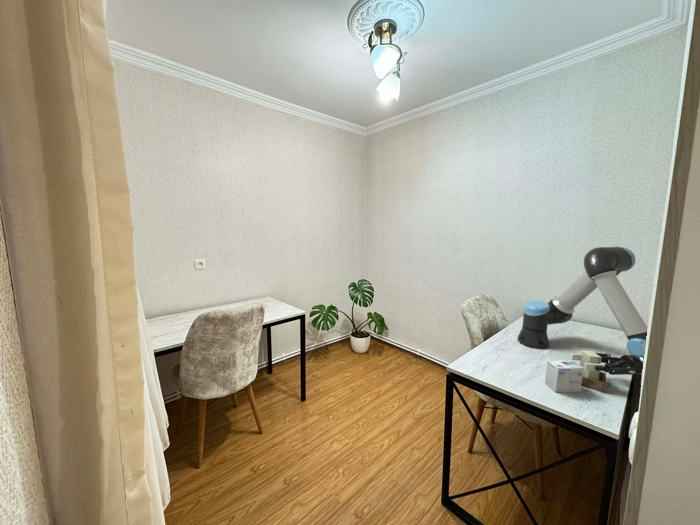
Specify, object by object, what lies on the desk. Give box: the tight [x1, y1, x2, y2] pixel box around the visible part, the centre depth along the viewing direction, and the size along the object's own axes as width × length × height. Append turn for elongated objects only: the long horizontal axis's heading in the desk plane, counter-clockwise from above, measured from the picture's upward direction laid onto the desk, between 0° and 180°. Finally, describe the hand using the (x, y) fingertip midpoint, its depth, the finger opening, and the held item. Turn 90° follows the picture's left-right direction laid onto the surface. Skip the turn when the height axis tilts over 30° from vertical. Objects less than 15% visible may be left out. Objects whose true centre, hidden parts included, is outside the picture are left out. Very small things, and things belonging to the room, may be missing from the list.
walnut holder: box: [581, 371, 607, 394], centre depth 122 cm, size 11×11×4 cm
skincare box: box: [579, 349, 602, 380], centre depth 121 cm, size 6×4×12 cm
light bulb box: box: [544, 359, 583, 393], centre depth 117 cm, size 11×7×11 cm, turn 92°
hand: (578, 361), depth 121 cm, fingers open, 8 cm apart
